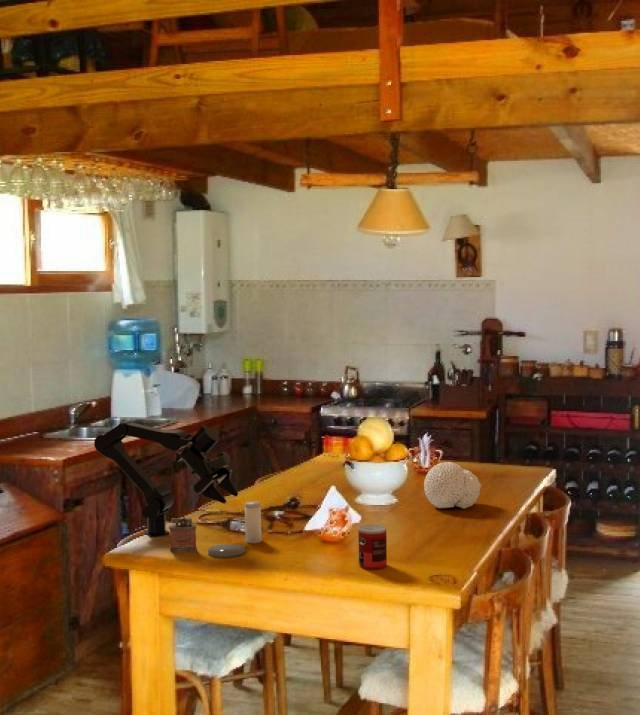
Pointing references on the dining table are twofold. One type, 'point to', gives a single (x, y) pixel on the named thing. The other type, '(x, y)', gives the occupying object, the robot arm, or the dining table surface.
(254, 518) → the salt shaker
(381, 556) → the canned food
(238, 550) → the disc
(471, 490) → the beige brain coral
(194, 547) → the lighter
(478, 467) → the dining table surface
